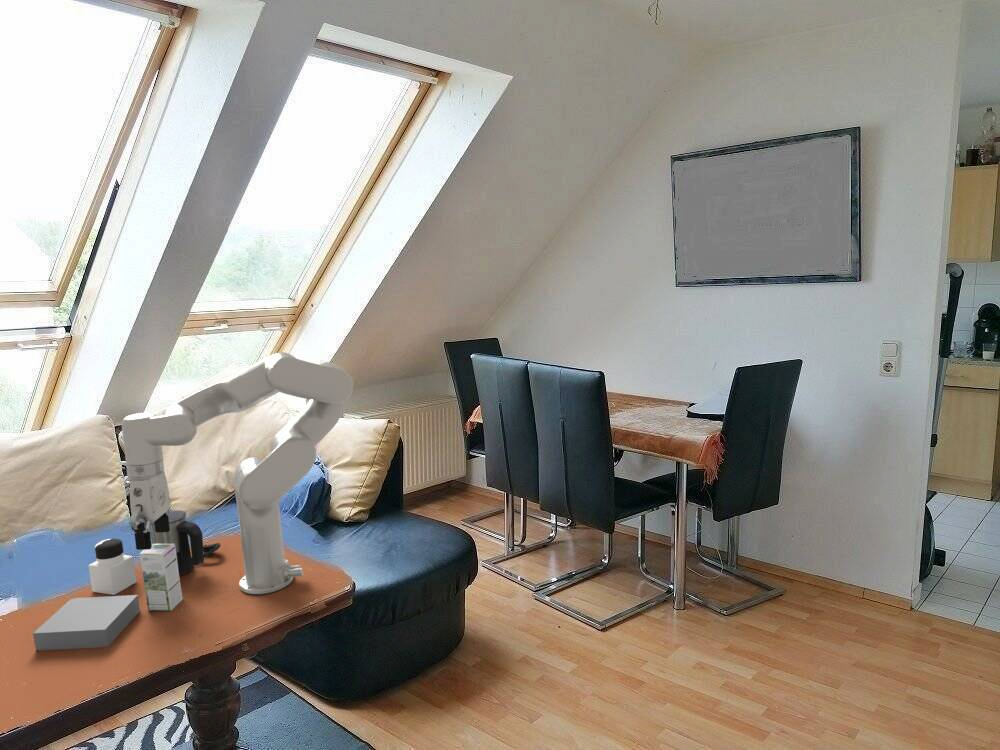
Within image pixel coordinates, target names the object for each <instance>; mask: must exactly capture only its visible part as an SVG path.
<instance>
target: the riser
mask: <svg viewBox="0 0 1000 750" xmlns="http://www.w3.org/2000/svg"><path fill="white" fill-rule="evenodd" d="M140 612H141V608H140V602H139V595H138V594H130V595H112V596H108V595H107V596H93V597H91V596H90V597H73V598H70V599H69V600H68V601H67V602H66V603H65V604H64V605H63V606H61V607H60V608H59V609H58V610H57V611H56V612H54V613H53V614H52V616H50V617H49V618H48V619H47V620H46V621H45V622H44V623H42V624H41V626H39V627H38V628H37V629H36V630H35V631H34V632H33V633H32V636H33V637H32V638H33V642H34V647H35V651H36V650H39V651H55V650H74V649H75V650H76V649H91V648H92V649H95V648H108V647H109V646H111V644H112V643H113V642H114V640H115V639H116V638H118V637H119V635H120V634H121V633H122V632H123V631H124V630H125V628H126V627H127V626H128V625H129V624H130V623H131V622H132V621H133V620H134V619H135V617H137V615H138V614H139V613H140Z"/></svg>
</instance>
